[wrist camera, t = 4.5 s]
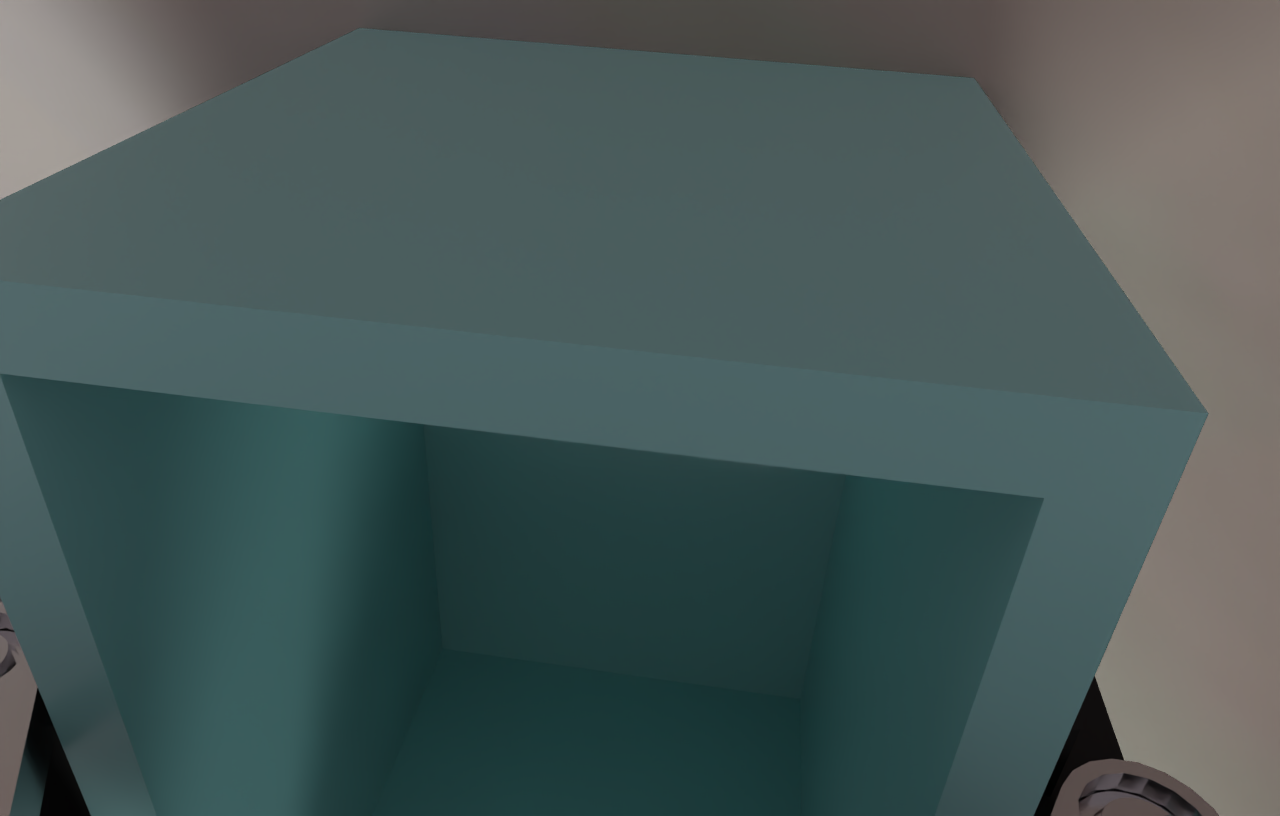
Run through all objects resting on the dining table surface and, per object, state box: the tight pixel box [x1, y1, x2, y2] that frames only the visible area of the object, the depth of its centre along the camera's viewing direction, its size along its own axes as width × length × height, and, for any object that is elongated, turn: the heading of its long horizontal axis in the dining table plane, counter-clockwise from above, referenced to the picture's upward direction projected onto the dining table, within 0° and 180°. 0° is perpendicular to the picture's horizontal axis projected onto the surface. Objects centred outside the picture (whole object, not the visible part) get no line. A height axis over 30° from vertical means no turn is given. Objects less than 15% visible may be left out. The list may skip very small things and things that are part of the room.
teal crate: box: [0, 28, 1208, 816], centre depth 10 cm, size 7×10×7 cm
